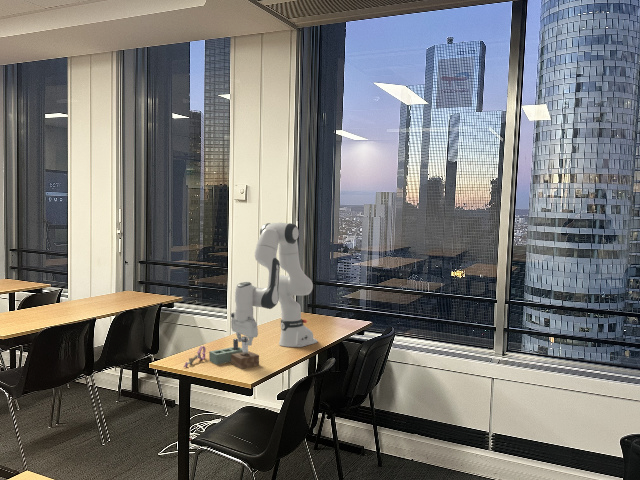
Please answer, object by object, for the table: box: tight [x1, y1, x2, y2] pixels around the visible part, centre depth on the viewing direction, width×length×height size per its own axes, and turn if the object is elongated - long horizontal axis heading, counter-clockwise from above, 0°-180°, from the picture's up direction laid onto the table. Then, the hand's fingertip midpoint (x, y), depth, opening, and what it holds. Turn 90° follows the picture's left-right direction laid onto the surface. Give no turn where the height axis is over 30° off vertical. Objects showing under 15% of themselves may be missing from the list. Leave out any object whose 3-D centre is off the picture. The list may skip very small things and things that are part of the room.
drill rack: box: [208, 346, 242, 366], centre depth 278 cm, size 16×8×5 cm, turn 128°
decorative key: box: [183, 345, 207, 368], centre depth 273 cm, size 7×1×20 cm
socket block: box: [230, 350, 260, 370], centre depth 269 cm, size 10×10×5 cm
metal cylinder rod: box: [241, 335, 249, 356], centre depth 269 cm, size 3×3×14 cm
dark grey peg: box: [232, 338, 239, 350], centre depth 281 cm, size 2×2×10 cm
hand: (244, 343), depth 269 cm, fingers open, 8 cm apart
